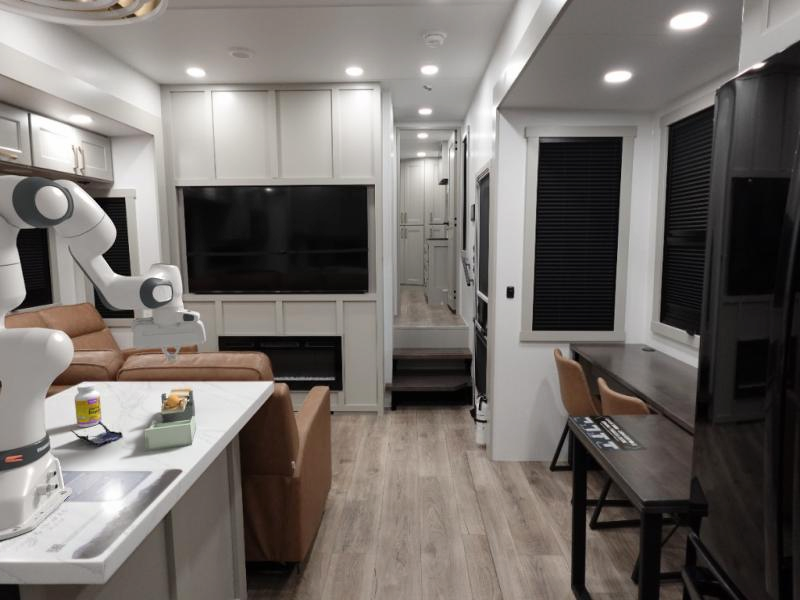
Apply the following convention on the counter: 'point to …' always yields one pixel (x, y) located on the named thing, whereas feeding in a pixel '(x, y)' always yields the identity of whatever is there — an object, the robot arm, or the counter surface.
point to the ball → (173, 401)
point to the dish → (170, 434)
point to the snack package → (102, 436)
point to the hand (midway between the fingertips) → (172, 360)
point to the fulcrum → (180, 416)
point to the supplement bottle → (87, 405)
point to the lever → (183, 397)
